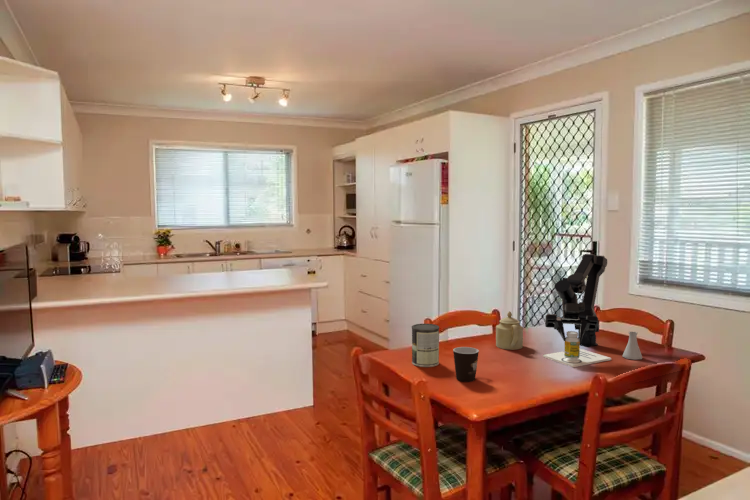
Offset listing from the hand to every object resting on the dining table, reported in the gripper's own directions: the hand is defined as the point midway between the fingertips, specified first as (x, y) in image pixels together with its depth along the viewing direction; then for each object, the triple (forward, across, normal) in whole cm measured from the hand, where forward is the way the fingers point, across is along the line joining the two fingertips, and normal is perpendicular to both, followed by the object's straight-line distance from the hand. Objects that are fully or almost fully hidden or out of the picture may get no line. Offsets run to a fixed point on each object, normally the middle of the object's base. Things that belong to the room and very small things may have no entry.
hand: (572, 341), depth 195 cm
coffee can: (+15, -53, -3) cm, 55 cm away
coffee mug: (+25, -36, -13) cm, 45 cm away
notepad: (+1, +2, +11) cm, 12 cm away
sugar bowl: (-6, -22, +19) cm, 30 cm away
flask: (-3, +23, +16) cm, 29 cm away
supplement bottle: (+4, 0, +6) cm, 7 cm away
